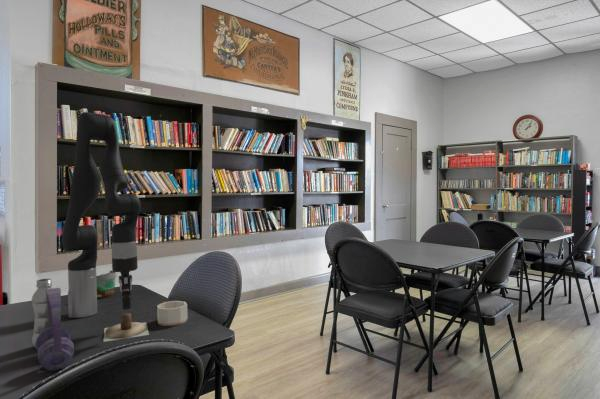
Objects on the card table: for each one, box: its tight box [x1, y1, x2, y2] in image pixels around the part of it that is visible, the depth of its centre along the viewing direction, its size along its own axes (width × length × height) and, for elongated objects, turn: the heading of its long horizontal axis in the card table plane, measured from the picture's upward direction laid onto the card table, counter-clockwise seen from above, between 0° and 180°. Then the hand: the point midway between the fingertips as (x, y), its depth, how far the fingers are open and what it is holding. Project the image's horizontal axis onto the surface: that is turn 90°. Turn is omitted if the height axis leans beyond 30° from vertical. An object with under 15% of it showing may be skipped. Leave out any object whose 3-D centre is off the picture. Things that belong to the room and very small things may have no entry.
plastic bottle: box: [31, 278, 53, 349], centre depth 119 cm, size 6×7×20 cm
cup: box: [156, 300, 189, 327], centre depth 140 cm, size 10×10×6 cm
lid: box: [106, 312, 146, 339], centre depth 130 cm, size 12×12×6 cm
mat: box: [103, 322, 150, 343], centre depth 130 cm, size 13×13×1 cm
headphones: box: [35, 287, 75, 371], centre depth 108 cm, size 18×8×20 cm, turn 36°
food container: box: [96, 270, 118, 299], centre depth 174 cm, size 12×6×10 cm, turn 168°
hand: (126, 305), depth 129 cm, fingers open, 8 cm apart
